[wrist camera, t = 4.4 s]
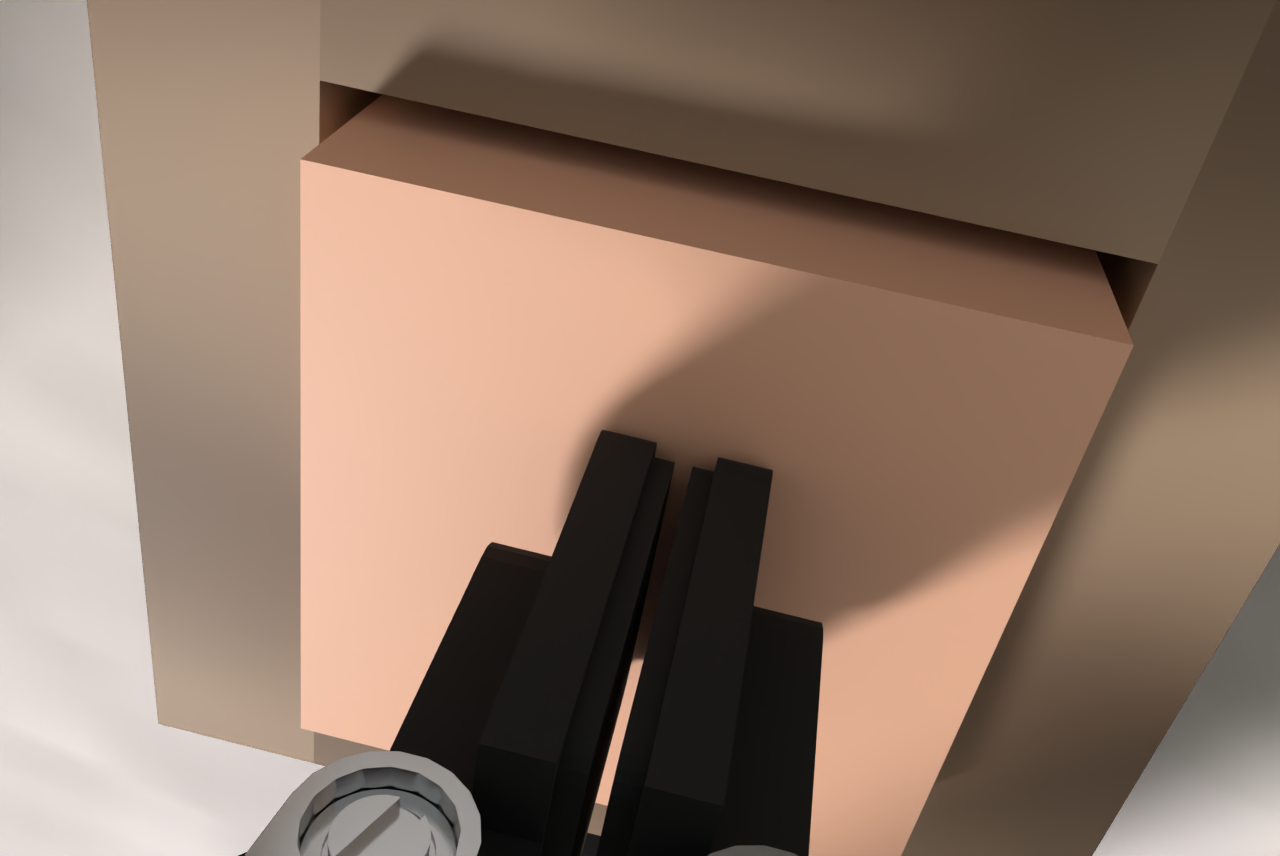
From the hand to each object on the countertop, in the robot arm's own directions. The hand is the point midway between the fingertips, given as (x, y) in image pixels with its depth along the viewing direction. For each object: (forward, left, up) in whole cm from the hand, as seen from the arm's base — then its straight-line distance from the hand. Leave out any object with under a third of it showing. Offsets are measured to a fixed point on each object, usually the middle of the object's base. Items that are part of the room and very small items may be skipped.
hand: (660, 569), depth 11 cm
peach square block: (0, 0, -5) cm, 5 cm away
